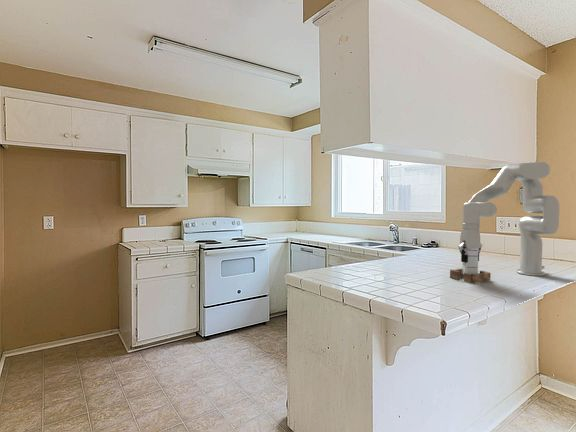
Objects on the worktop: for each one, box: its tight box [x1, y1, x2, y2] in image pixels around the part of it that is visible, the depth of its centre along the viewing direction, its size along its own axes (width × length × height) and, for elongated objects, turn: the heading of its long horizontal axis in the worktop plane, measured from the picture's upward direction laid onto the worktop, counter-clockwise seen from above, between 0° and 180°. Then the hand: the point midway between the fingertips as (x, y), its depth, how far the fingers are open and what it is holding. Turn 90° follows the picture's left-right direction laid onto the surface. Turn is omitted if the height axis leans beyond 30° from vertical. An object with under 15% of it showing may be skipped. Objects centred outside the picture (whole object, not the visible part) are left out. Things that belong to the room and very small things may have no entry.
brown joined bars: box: [449, 267, 491, 284], centre depth 167 cm, size 14×14×4 cm
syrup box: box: [462, 248, 479, 275], centre depth 167 cm, size 6×6×14 cm
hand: (470, 261), depth 167 cm, fingers closed on syrup box, 8 cm apart
